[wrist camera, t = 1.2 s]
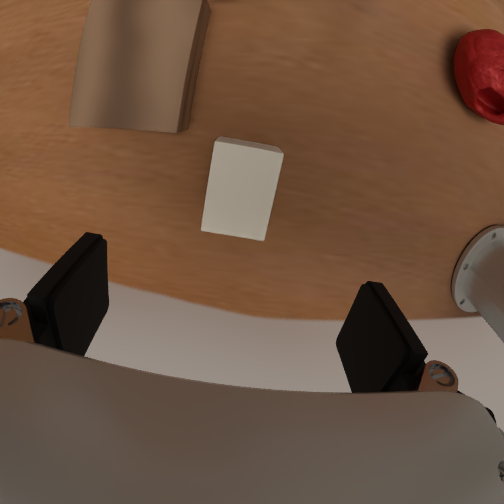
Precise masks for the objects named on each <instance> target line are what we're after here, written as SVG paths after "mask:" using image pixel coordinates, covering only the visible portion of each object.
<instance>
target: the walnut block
mask: <svg viewBox="0 0 504 504" xmlns="http://www.w3.org/2000/svg"><path fill="white" fill-rule="evenodd" d="M210 13H211V10H210V7H209V4H208V2H207V0H91V3H90V6H89V10H88V13H87V17H86V21H85V25H84V29H83V34H82V38H81V43H80V48H79V53H78V58H77V64H76V70H75V76H74V83H73V90H72V98H71V107H70V117H69V127H95V128H118V129H134V130H147V131H158V132H169V133H179V132H181V131H184V130H186V129H188V126H189V119H190V113H191V107H192V101H193V95H194V89H195V84H196V79H197V73H198V68H199V63H200V58H201V53H202V48H203V44H204V39H205V34H206V30H207V26H208V21H209V17H210Z"/></svg>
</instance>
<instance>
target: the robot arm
mask: <svg viewBox="0 0 504 504" xmlns="http://www.w3.org/2000/svg"><path fill="white" fill-rule="evenodd" d="M451 290H452V296H453V299H454V301H455V303H456V304H457V305H458V307H459V308H460V309H461V310H463V311H465V312H477V311H478V312H479V313H480V314H481V316H482V317H483V318H484V319H485V320H486V322H488V324H489V325H490V326H491V327H492V329H493V330H494V331H495V332H496V334H497V335H498V336H499V337H500V339H501V340H502V341H503V342H504V226H501V225H496V226H491V227H489V228H487V229H485V230H483V231H482V232H481V233H479V234H478V235H477V236H476V237H475V238H474V239H473V240H472V241H471V242H470V244H469V245H468V246H467V247H466V249H465V250H464V252H463V254H462V255H461V257H460V259H459V261H458V263H457V266H456V268H455V271H454V275H453V279H452V288H451ZM108 306H109V295H108V273H107V241H106V240H105V239H103V237H102V235H100V234H95V233H89V232H86V233H85V234H84V235H83V236H82V237H81V238H80V239H79V240H78V241H77V242H76V243H75V244H74V245H73V246H72V247H71V248H70V249H69V250H68V251H67V252H66V253H65V254H64V255H63V256H62V257H61V258H60V259H59V260H58V261H57V262H56V263H55V264H54V265H53V266H52V267H51V268H50V270H49V271H48V272H47V273H46V274H45V275H44V276H43V277H42V278H41V280H40V281H39V282H38V283H37V284H36V285H35V286H34V287H33V288H32V289H31V291H30V292H29V293H28V294H27V298H26V299H25V300H24V302H22V301H20V300H18V299H14V298H6V299H2V300H0V504H504V432H503V431H502V430H501V429H500V428H498V427H497V425H496V420H495V418H494V414H493V412H492V411H491V410H490V409H488V408H486V407H484V406H483V405H482V404H481V403H480V402H479V401H477V400H475V399H473V398H471V397H469V396H466V395H465V394H463V393H461V392H460V391H458V390H457V389H458V378H457V376H456V374H455V372H454V371H453V370H452V369H451V368H450V367H449V366H448V365H446V364H445V363H442V362H440V361H436V360H433V361H429V362H428V363H427V364H426V363H425V362H424V360H425V358H426V357H427V355H428V353H427V351H426V349H425V348H424V346H423V344H422V343H421V341H420V340H419V338H418V336H417V335H416V333H415V332H414V330H413V328H412V327H411V325H410V324H409V322H408V321H407V319H406V318H405V316H404V315H403V313H402V311H401V310H400V308H399V307H398V305H397V304H396V302H395V301H394V299H393V298H392V297H391V295H390V294H389V292H388V291H387V289H386V288H385V286H384V285H383V284H382V283H378V282H372V281H367V282H366V283H365V284H362V285H361V287H360V289H359V291H358V294H357V296H356V298H355V300H354V303H353V305H352V307H351V309H350V311H349V314H348V316H347V318H346V320H345V322H344V324H343V326H342V328H341V331H340V333H339V335H338V337H337V340H336V347H337V350H338V352H339V355H340V358H341V361H342V364H343V367H344V370H345V373H346V376H347V379H348V382H349V385H350V388H351V391H352V393H333V392H304V391H286V390H272V389H261V388H250V387H240V386H232V385H224V384H216V383H209V382H202V381H196V380H190V379H183V378H177V377H171V376H166V375H161V374H155V373H151V372H146V371H141V370H137V369H132V368H128V367H123V366H119V365H115V364H111V363H107V362H103V361H99V360H95V359H92V358H88V357H84V355H85V353H86V351H87V349H88V347H89V345H90V343H91V341H92V339H93V337H94V335H95V333H96V331H97V330H98V328H99V326H100V324H101V322H102V320H103V318H104V316H105V314H106V313H107V310H108Z"/></svg>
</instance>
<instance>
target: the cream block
mask: <svg viewBox="0 0 504 504" xmlns="http://www.w3.org/2000/svg"><path fill="white" fill-rule="evenodd" d="M283 156H284V153H283V152H282V151H281V150H280V149H279V148H278V147H277V146H272V145H267V144H262V143H257V142H251V141H246V140H240V139H234V138H229V137H222V136H219V137H218V138H217V139H216V140H215V143H214V149H213V155H212V161H211V167H210V173H209V179H208V185H207V192H206V198H205V205H204V212H203V219H202V226H201V231H206V232H212V233H219V234H225V235H231V236H237V237H243V238H249V239H254V240H260V241H264V239H265V235H266V230H267V226H268V222H269V217H270V213H271V209H272V204H273V200H274V196H275V191H276V187H277V182H278V178H279V174H280V169H281V165H282V160H283Z"/></svg>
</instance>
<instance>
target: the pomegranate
mask: <svg viewBox="0 0 504 504" xmlns="http://www.w3.org/2000/svg"><path fill="white" fill-rule="evenodd" d="M454 75H455V79H456V83H457V86H458V90H459V92H460V94H461V96H462V98H463V100H464V102H465V103H466V104H467V106H468V107H469V108H470V109H472V110H473V111H474V112H476V113H477V114H478V115H480V116H481V117H483V118H485V119H487V120H488V121H490V122H493V123H496V124H500V125H504V35H503V34H501V33H500V32H498V31H495V30H491V29H482V30H476V31H472V32H469V33H467V34H466V35H464V36H463V37H462V38H461V39H460V41H459V42H458V45H457V47H456V50H455V54H454Z"/></svg>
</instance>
